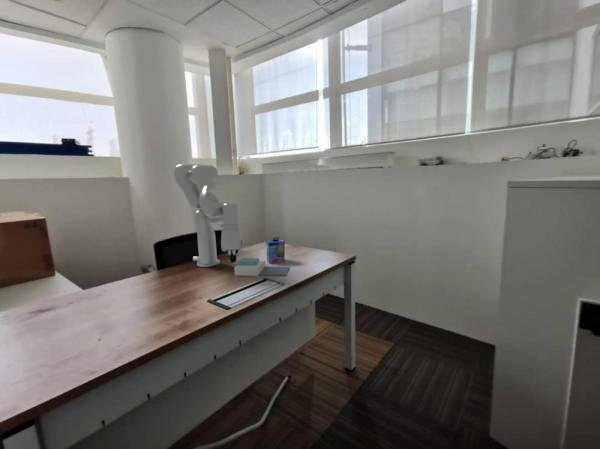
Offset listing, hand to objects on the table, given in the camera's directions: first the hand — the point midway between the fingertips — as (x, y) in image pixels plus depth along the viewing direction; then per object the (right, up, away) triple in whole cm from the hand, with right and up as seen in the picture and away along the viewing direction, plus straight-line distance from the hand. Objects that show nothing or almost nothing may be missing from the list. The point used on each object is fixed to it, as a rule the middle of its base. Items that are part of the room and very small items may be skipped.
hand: (233, 262), depth 144 cm
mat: (+22, -5, -1) cm, 22 cm away
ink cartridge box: (+21, -2, +17) cm, 27 cm away
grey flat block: (+9, -5, 0) cm, 10 cm away
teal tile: (+8, -1, -1) cm, 8 cm away
